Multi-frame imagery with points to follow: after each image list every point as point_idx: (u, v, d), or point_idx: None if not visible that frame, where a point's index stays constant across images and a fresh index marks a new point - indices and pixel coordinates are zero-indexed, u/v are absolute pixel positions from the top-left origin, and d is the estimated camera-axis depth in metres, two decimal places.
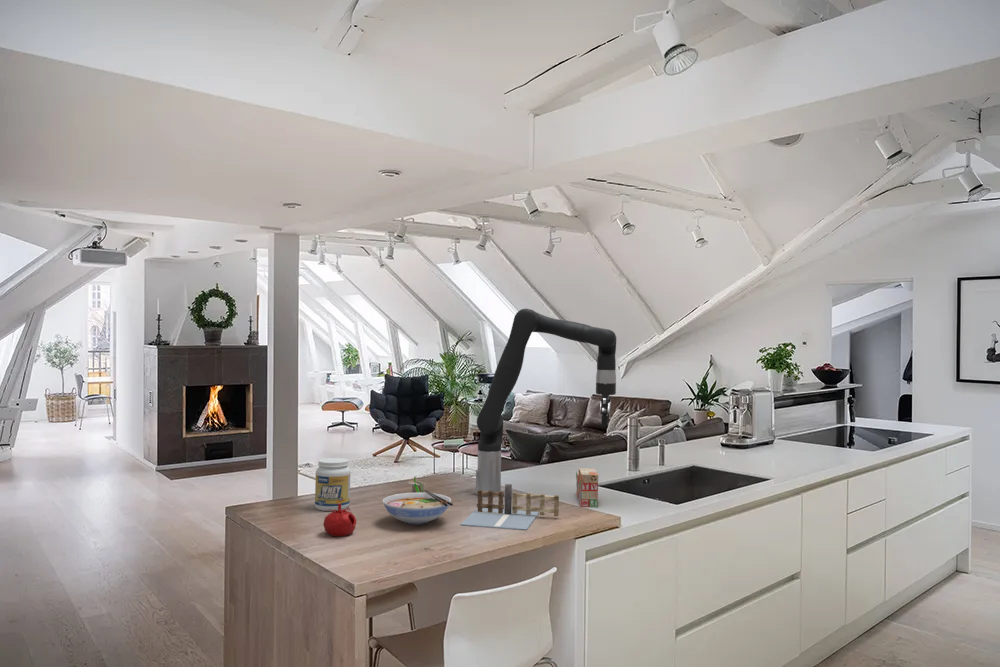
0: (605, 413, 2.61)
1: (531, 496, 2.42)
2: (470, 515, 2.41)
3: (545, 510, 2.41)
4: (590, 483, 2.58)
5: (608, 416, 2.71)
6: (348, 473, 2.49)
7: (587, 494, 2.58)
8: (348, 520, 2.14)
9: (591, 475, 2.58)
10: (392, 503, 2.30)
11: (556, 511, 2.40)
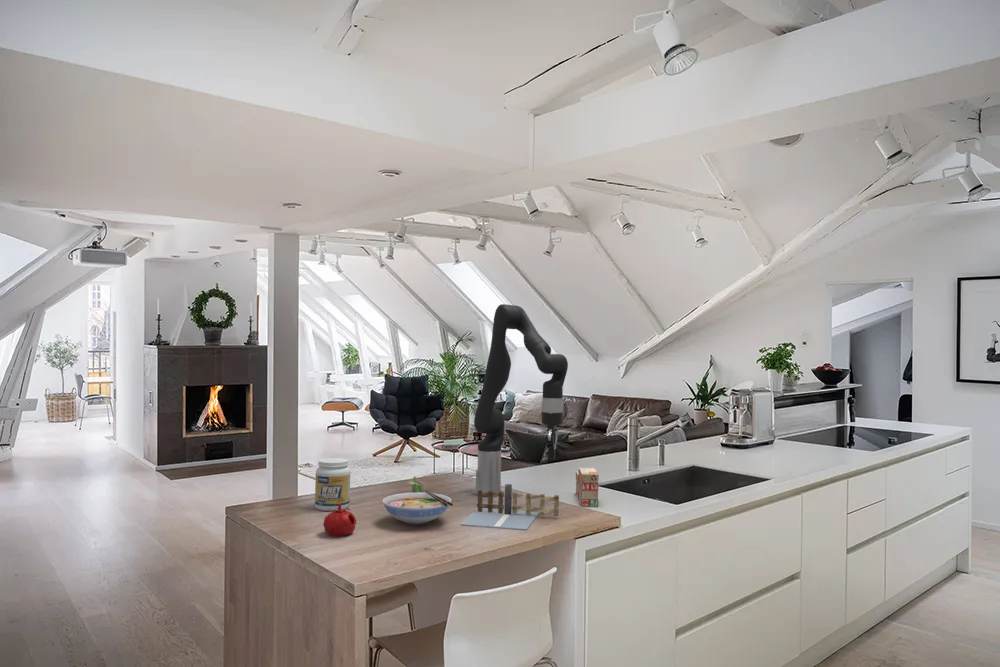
0: (551, 448, 2.45)
1: (531, 496, 2.42)
2: (470, 515, 2.41)
3: (545, 510, 2.41)
4: (590, 482, 2.59)
5: None
6: (348, 473, 2.49)
7: (587, 494, 2.59)
8: (348, 520, 2.14)
9: (591, 475, 2.59)
10: (392, 503, 2.30)
11: (556, 511, 2.40)
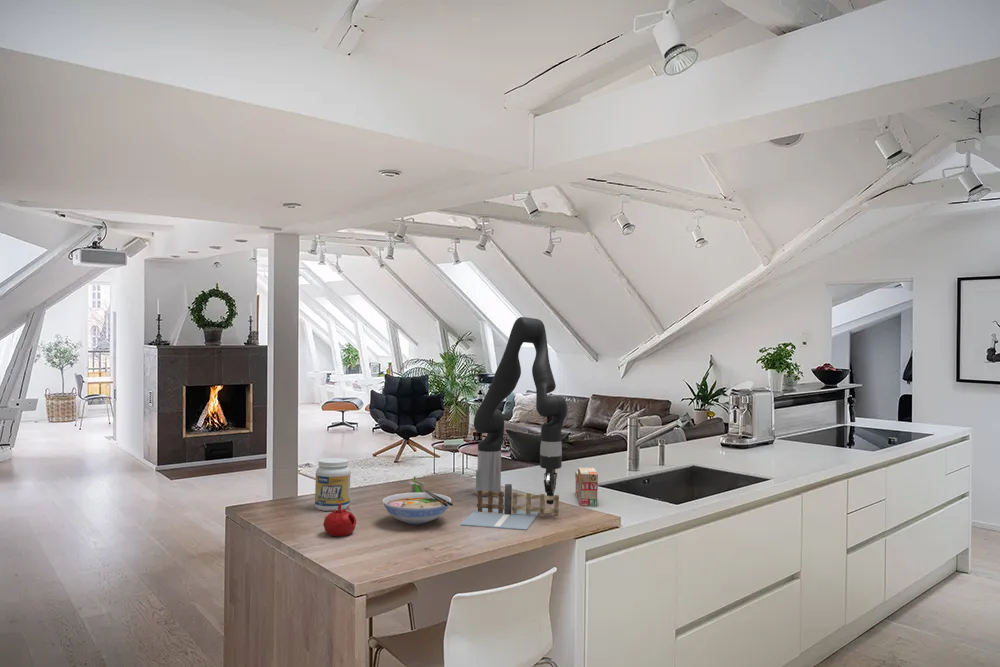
0: (550, 492, 2.42)
1: (531, 496, 2.42)
2: (470, 515, 2.41)
3: (545, 510, 2.41)
4: (590, 482, 2.59)
5: None
6: (348, 473, 2.49)
7: (586, 494, 2.59)
8: (348, 520, 2.14)
9: (591, 474, 2.59)
10: (392, 503, 2.30)
11: (556, 511, 2.40)
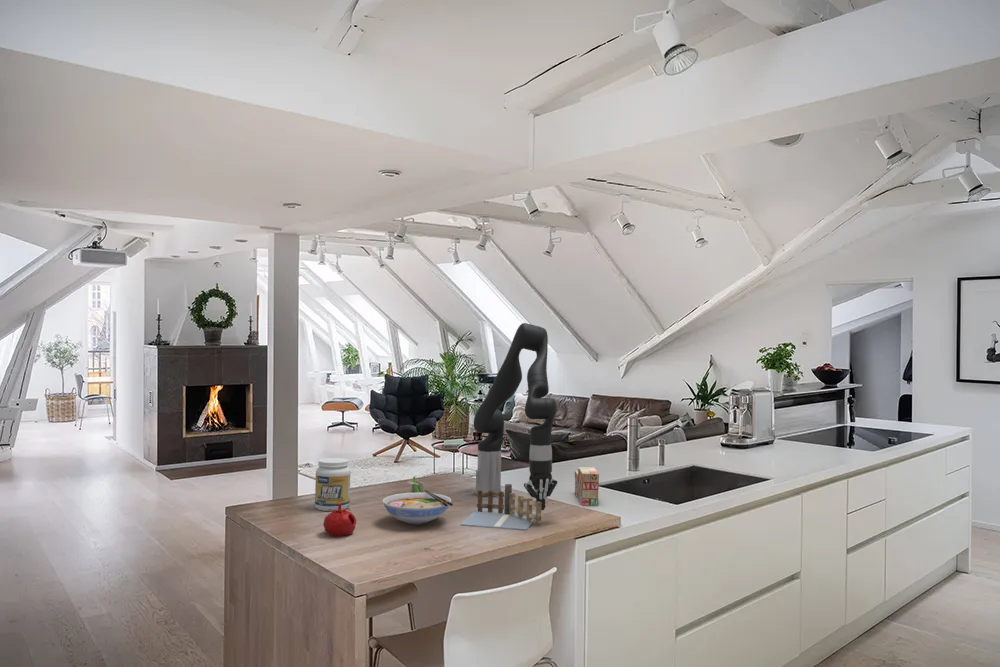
0: (534, 497, 2.33)
1: (521, 499, 2.37)
2: (470, 515, 2.41)
3: (530, 515, 2.33)
4: (591, 482, 2.60)
5: (542, 502, 2.34)
6: (348, 473, 2.49)
7: (588, 493, 2.60)
8: (348, 520, 2.14)
9: (592, 474, 2.60)
10: (392, 503, 2.30)
11: (537, 518, 2.30)
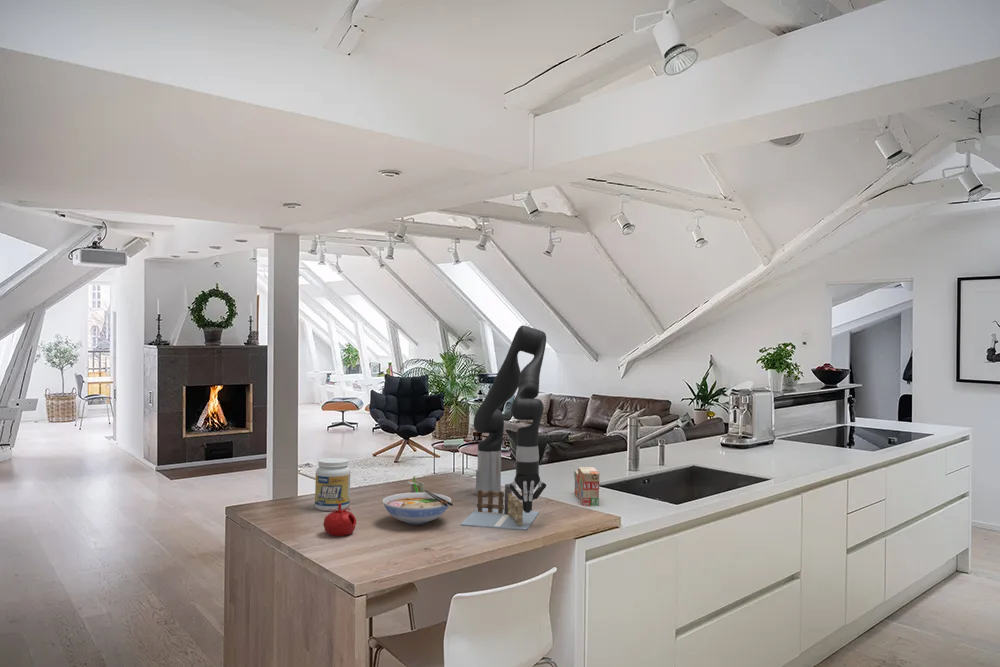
0: (519, 498, 2.30)
1: (512, 499, 2.36)
2: (470, 515, 2.41)
3: (515, 516, 2.32)
4: (591, 481, 2.60)
5: None
6: (348, 473, 2.49)
7: (588, 493, 2.60)
8: (348, 520, 2.14)
9: (592, 474, 2.61)
10: (392, 503, 2.30)
11: (518, 520, 2.28)
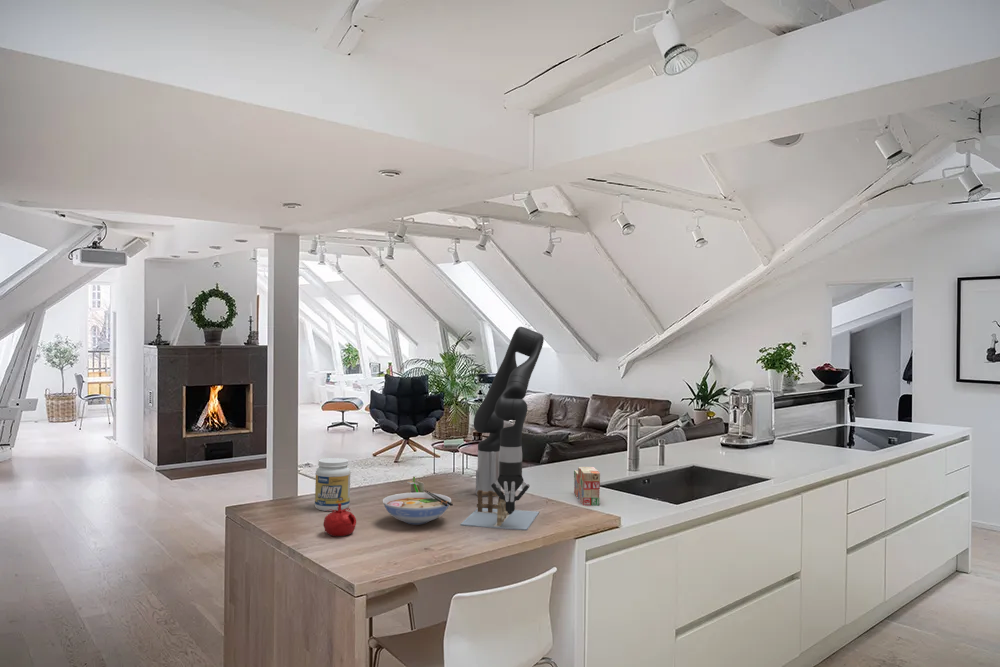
0: None
1: None
2: (470, 515, 2.41)
3: None
4: (592, 481, 2.61)
5: None
6: (348, 473, 2.49)
7: (589, 493, 2.61)
8: (348, 520, 2.14)
9: (593, 474, 2.61)
10: (392, 503, 2.30)
11: None
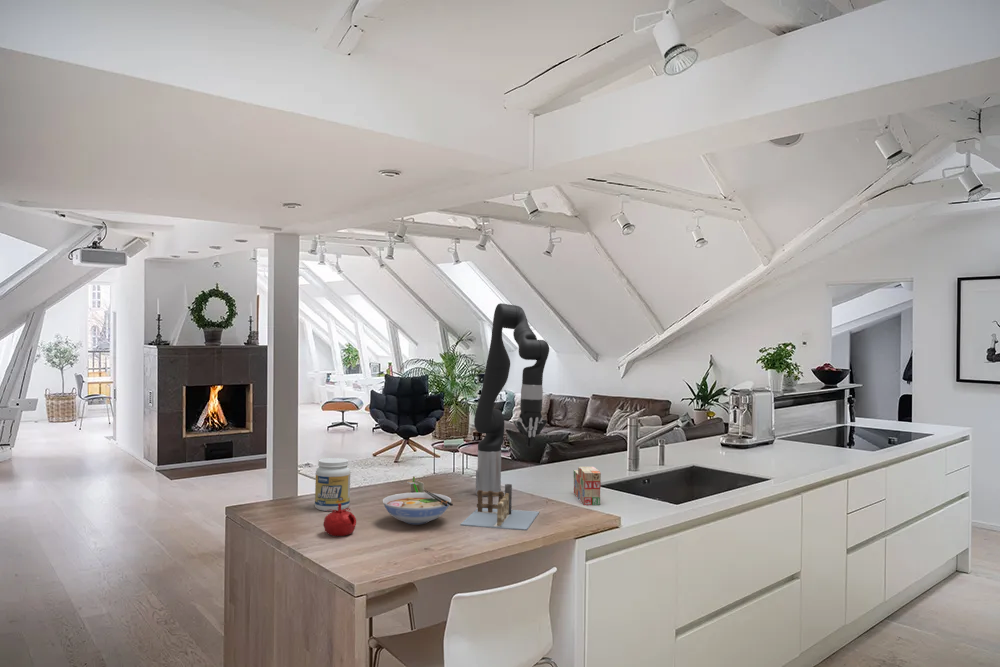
0: (523, 434, 2.41)
1: None
2: (470, 515, 2.41)
3: None
4: (593, 481, 2.61)
5: None
6: (348, 473, 2.49)
7: (590, 492, 2.61)
8: (348, 520, 2.14)
9: (594, 473, 2.62)
10: (392, 503, 2.30)
11: None
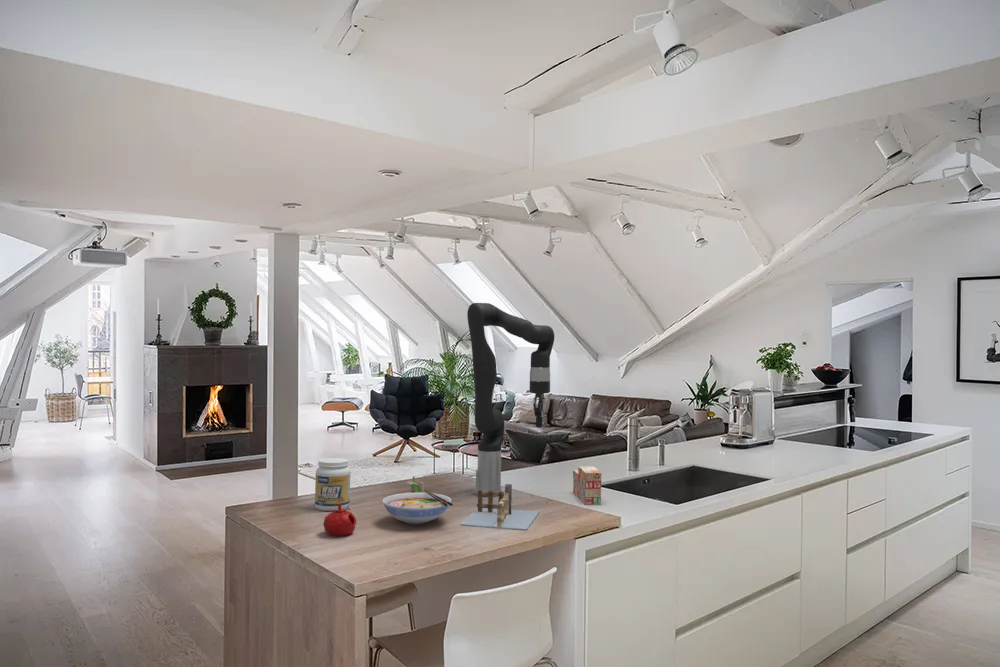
0: (539, 415, 2.55)
1: None
2: (470, 515, 2.41)
3: None
4: (593, 480, 2.62)
5: (541, 419, 2.58)
6: (348, 473, 2.49)
7: (590, 492, 2.62)
8: (348, 520, 2.14)
9: (594, 473, 2.62)
10: (392, 503, 2.30)
11: None
